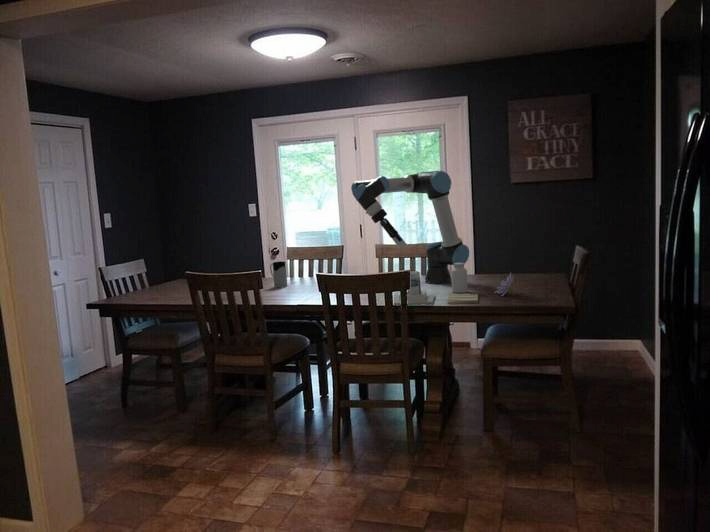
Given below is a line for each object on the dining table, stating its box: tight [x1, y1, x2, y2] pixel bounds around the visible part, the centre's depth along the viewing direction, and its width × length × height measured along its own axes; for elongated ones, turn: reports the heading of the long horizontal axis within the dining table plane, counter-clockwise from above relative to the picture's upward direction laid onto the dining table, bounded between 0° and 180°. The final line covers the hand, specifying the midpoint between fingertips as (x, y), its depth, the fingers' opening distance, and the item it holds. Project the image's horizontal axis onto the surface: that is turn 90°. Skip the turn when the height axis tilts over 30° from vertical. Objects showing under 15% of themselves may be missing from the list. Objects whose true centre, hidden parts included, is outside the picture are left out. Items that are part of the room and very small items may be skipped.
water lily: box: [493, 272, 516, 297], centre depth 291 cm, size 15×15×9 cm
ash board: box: [447, 293, 479, 305], centre depth 285 cm, size 18×14×1 cm
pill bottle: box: [450, 263, 468, 294], centre depth 305 cm, size 8×8×15 cm
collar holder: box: [392, 290, 436, 306], centre depth 290 cm, size 20×20×4 cm
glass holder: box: [269, 261, 289, 288], centre depth 360 cm, size 9×14×15 cm, turn 41°
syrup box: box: [407, 270, 422, 295], centre depth 289 cm, size 6×6×14 cm
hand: (403, 246), depth 289 cm, fingers open, 13 cm apart
